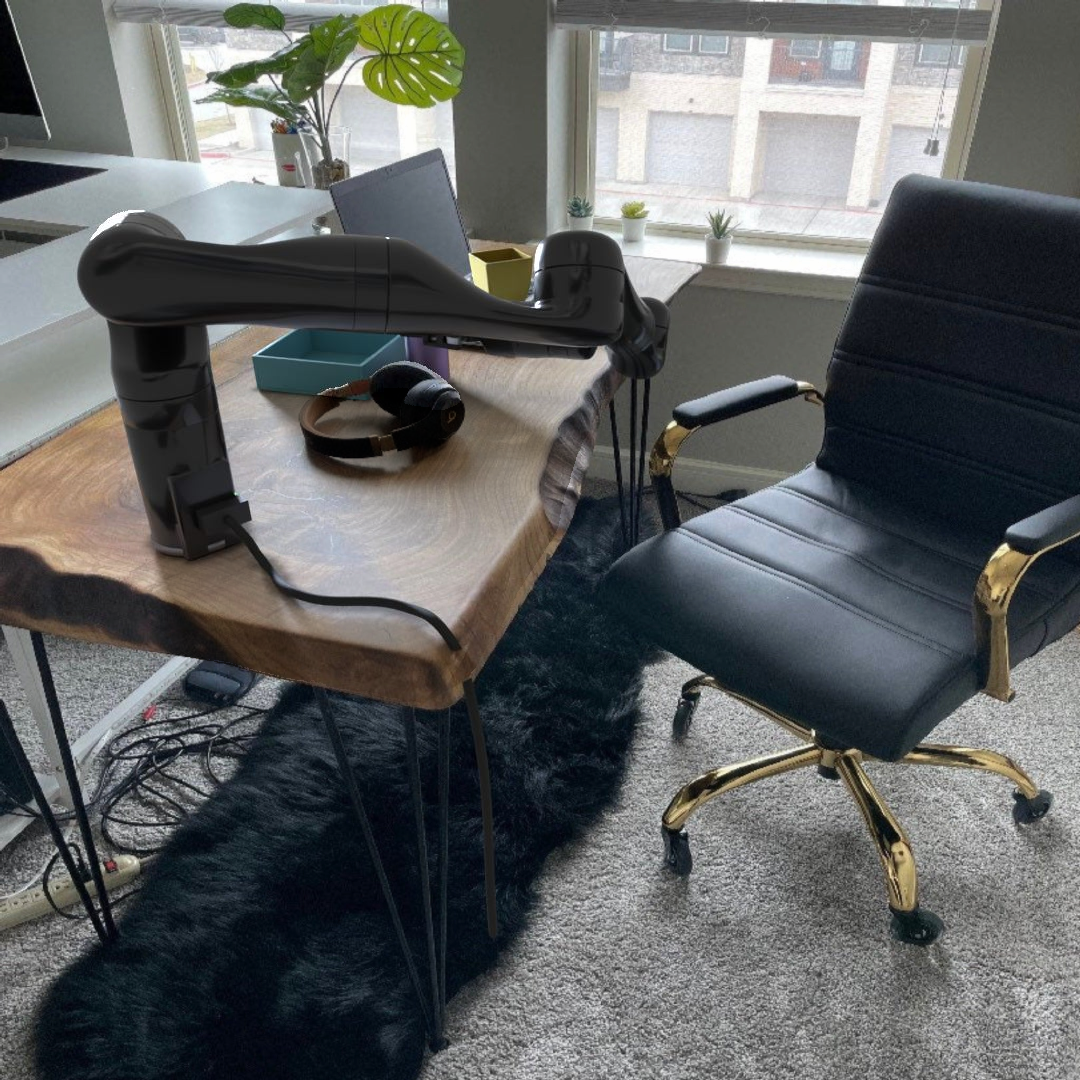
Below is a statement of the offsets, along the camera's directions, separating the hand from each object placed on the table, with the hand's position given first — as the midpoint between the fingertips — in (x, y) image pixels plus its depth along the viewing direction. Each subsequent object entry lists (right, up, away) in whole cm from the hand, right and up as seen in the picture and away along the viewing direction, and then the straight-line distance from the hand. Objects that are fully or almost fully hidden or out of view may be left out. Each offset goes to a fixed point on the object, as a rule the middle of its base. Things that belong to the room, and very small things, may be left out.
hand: (408, 320), depth 139 cm
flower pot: (+12, +10, +36) cm, 39 cm away
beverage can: (+3, -8, +4) cm, 10 cm away
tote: (-12, -6, +8) cm, 15 cm away
